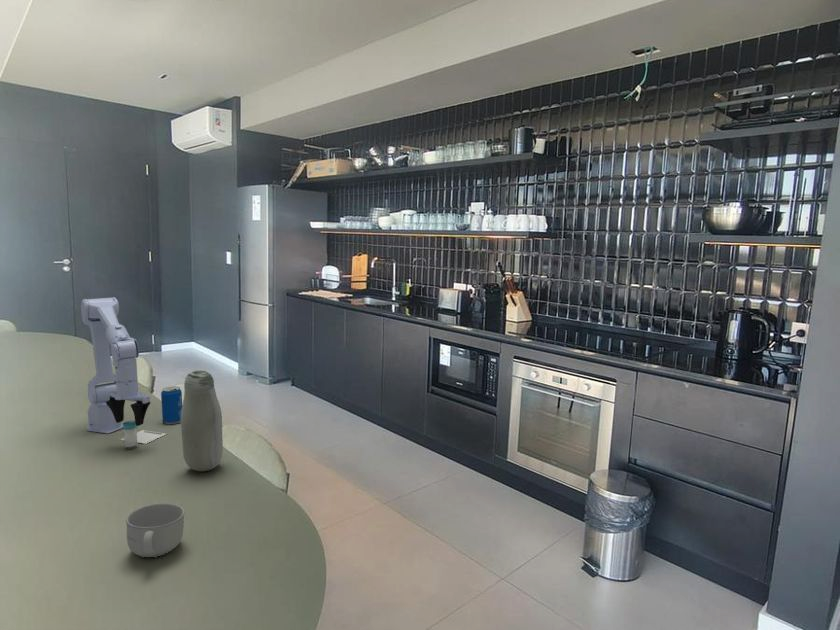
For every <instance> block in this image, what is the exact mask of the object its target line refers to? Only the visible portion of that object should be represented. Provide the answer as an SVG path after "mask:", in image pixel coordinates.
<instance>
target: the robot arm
mask: <svg viewBox="0 0 840 630" xmlns="http://www.w3.org/2000/svg"><path fill="white" fill-rule="evenodd" d="M80 312H81V320H82V323H83V325H86V326H88V327H89V330H90V336H91V344H92V351H93V357H94V367H95V373H96V374H95V375H94V376H93V377H92V378H91V379H90V380H89V381H88V383H87V397H88V401H89V403H90V405H89V407H88V409H87V421H88V428H86V431H89V432H96V433H102V434H111V433H113V432H115V431H119V430H121V429H123V423H122V422H123V421H124V420H125V412H124V411H125V404H126V401H129V402H130V401H131V402H134V403H132V404H130V408H131V409H132V412H133V416H134V421H135V423H136V426H137V427H139V426H141V425H143V424H144V422H145V418H146V417H145V416H146V413H147V410H148V408H149V407H150V404H151V399H150V395H147V394H144V393H141V392H139V382H138V366H137V365H138V363H137V358H139V356H140V348H139V344H138V341H137V339H136V338H133V337H131V336H130V334H129V333H128V330H127V329H126V327H125V326H124V325H123V324H120V323H119V320H118V314H119V312H120V305H119V301H118V299H117V298H116V297H115V296H112V297H101V298H88V299H87V298H82V300H81V302H80ZM112 364H113V365H112ZM113 367H114V370H115V371H114V372H115V373H113Z"/></svg>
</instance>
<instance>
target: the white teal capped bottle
mask: <svg viewBox="0 0 840 630" xmlns="http://www.w3.org/2000/svg"><path fill="white" fill-rule="evenodd" d="M122 424H123V428H122V429H123V438H124V441H123V442H124V447H125V449H126V450H128V449H131V450H135V449H136V448H137V445H139V443H138V441H137V432H138V430H137V429H138V428H137V427H138V426H136V423H135V420H126V421H124V422H123V423H122ZM134 448H135V449H134Z"/></svg>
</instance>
